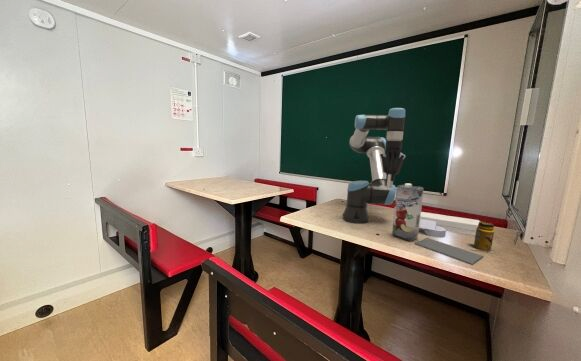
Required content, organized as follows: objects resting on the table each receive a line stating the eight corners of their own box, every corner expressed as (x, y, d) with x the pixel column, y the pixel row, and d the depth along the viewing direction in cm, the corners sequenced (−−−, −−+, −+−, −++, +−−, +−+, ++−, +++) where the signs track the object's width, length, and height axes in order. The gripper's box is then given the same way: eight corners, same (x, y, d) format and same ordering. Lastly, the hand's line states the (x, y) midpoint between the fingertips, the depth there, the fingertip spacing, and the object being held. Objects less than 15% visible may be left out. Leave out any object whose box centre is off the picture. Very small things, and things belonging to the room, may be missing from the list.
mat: (414, 244, 106) (414, 242, 106) (427, 238, 113) (427, 237, 113) (472, 265, 89) (472, 263, 89) (482, 257, 96) (483, 255, 96)
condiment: (494, 253, 100) (499, 226, 98) (471, 249, 103) (475, 223, 101) (487, 246, 106) (492, 221, 105) (465, 243, 109) (469, 219, 108)
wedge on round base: (415, 232, 122) (444, 239, 114) (416, 220, 121) (446, 225, 113) (417, 227, 129) (445, 233, 121) (418, 216, 128) (447, 221, 120)
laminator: (477, 230, 128) (479, 220, 127) (482, 238, 118) (484, 226, 117) (409, 219, 145) (410, 210, 144) (408, 225, 134) (409, 214, 133)
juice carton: (398, 232, 121) (404, 181, 117) (419, 239, 113) (426, 184, 109) (389, 235, 116) (394, 182, 112) (410, 243, 108) (417, 185, 104)
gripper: (378, 140, 119) (374, 185, 122) (402, 140, 108) (397, 189, 112) (386, 140, 123) (382, 184, 127) (411, 140, 113) (405, 188, 116)
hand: (389, 186), depth 119 cm, fingers closed
